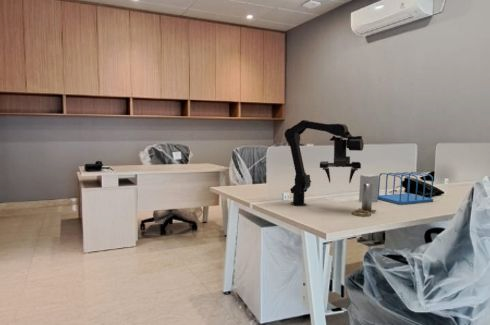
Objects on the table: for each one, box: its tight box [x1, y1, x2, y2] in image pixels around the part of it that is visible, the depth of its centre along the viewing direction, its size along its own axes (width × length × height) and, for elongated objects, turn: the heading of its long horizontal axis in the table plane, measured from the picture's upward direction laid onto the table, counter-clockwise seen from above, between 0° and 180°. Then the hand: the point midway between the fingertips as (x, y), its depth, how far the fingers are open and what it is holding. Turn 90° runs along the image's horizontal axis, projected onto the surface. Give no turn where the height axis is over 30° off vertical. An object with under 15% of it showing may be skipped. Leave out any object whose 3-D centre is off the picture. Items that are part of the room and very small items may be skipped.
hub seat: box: [350, 209, 372, 218], centre depth 159 cm, size 11×11×2 cm
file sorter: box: [377, 171, 434, 206], centre depth 195 cm, size 25×17×15 cm
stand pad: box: [357, 207, 377, 215], centre depth 166 cm, size 8×8×1 cm
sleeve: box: [361, 183, 373, 212], centre depth 165 cm, size 4×4×13 cm
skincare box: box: [358, 173, 379, 203], centre depth 189 cm, size 8×6×15 cm
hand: (339, 182), depth 168 cm, fingers open, 9 cm apart
